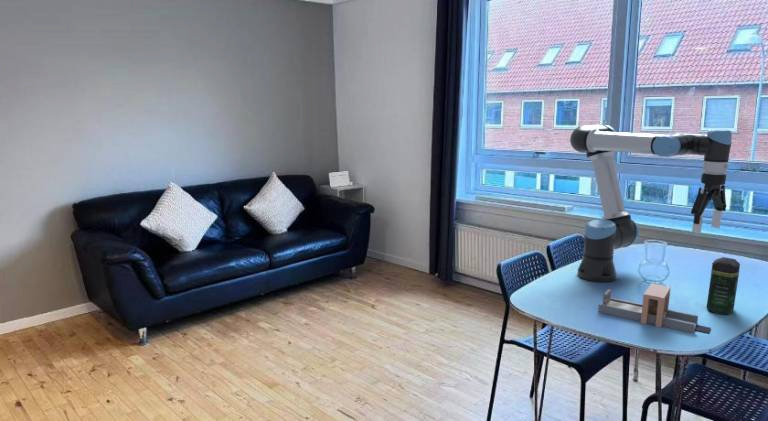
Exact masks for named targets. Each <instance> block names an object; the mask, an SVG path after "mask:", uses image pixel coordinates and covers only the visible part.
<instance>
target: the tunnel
mask: <svg viewBox="0 0 768 421" xmlns="http://www.w3.org/2000/svg"><path fill="white" fill-rule="evenodd" d="M670 296H671V286H667V285H661V284H657V283H650V284H649V286H648V287H647V288H646V290H645V292H643V298H642V304H643V305H642V315H641V321H640V324H644V325H647V318H648V308H649V299H653V300H658V307H657V316H656V324H655V327H656V328H660V329H661V328H662V327H663V326H662V319H663V310H664V301H665V298H666V304H665V309H669V305H670Z"/></svg>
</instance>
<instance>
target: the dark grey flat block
mask: <svg viewBox="0 0 768 421" xmlns="http://www.w3.org/2000/svg"><path fill="white" fill-rule="evenodd" d="M711 330H712V328H711V327H710V326H703V325H699V324H697V325H696V327H695V330H694V332H699V333H705V334H710V332H711Z"/></svg>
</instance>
